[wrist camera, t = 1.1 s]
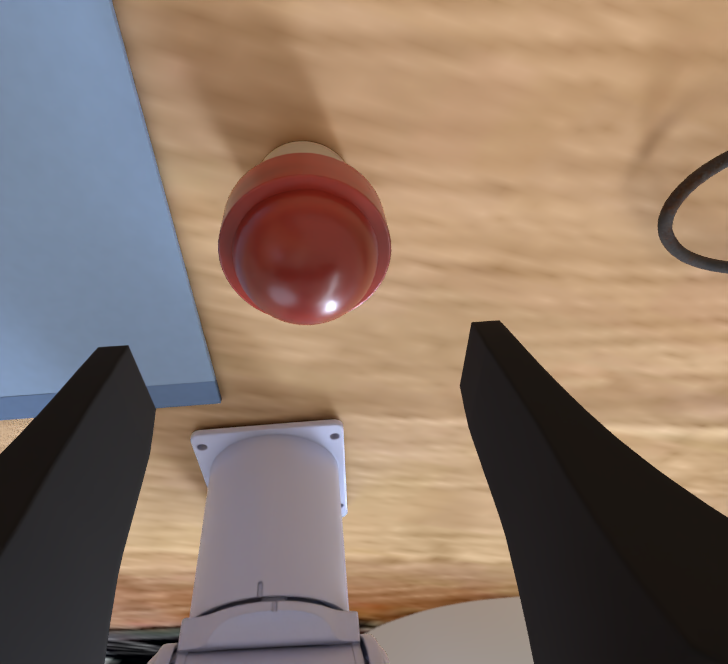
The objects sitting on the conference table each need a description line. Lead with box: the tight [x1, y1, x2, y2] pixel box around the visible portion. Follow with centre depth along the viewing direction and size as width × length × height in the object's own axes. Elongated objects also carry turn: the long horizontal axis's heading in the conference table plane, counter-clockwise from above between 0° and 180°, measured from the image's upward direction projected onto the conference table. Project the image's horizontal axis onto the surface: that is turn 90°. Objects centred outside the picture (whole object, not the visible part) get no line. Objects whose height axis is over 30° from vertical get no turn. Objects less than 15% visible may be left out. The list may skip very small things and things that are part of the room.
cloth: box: [0, 0, 221, 420], centre depth 19 cm, size 20×11×1 cm, turn 0°
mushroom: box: [218, 141, 391, 325], centre depth 17 cm, size 5×5×7 cm
